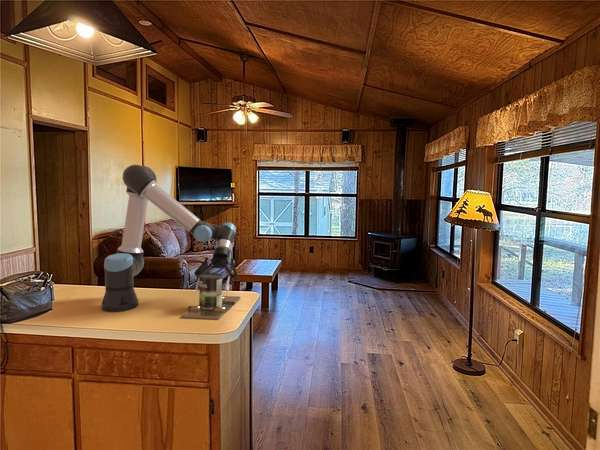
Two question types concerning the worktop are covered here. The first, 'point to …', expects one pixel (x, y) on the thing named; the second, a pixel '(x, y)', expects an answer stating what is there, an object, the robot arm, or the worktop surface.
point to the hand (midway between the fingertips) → (211, 289)
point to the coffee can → (210, 290)
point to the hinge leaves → (211, 313)
